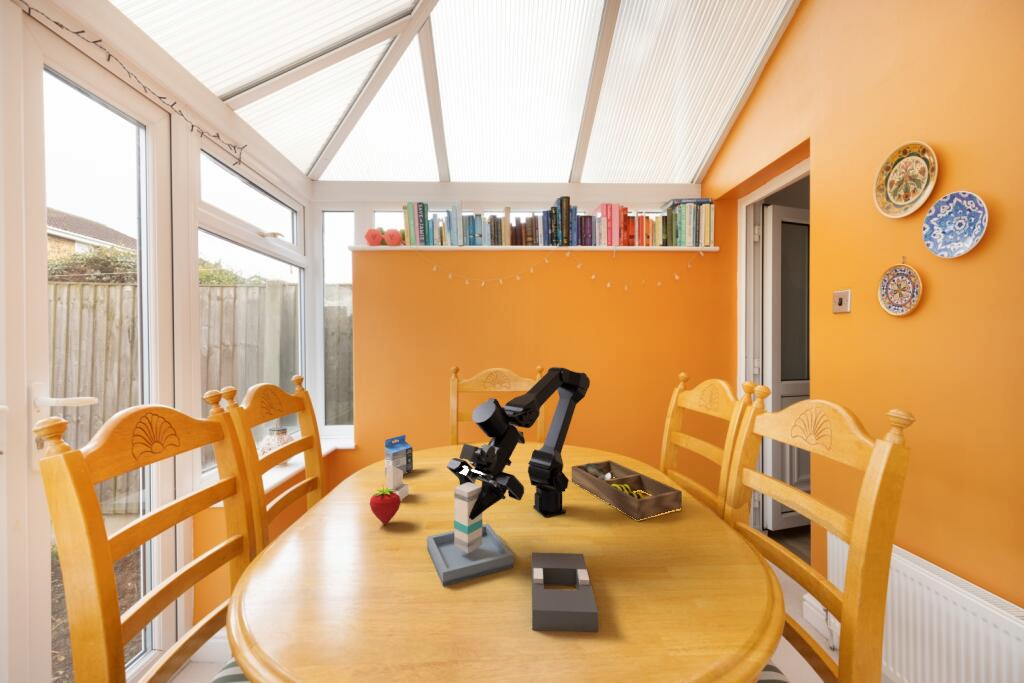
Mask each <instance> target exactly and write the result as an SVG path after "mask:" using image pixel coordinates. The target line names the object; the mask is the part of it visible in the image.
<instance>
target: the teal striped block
mask: <svg viewBox="0 0 1024 683" xmlns="http://www.w3.org/2000/svg"><path fill="white" fill-rule="evenodd" d="M453 490H454V492H453V495H454V496H453V497H454V500H453V501H454V502H453V503H454V504H453V509H454V512H453V513H454V514H453V515H454V516H453V518H454V519H453V531H454V546H455V547H457V548H459V549H461V550H463V551H465V552H467V553H469V552H471V551H472V550H474V549H476V548H478V547H479V546H481V545H482V525H483V512H482V513H481V514H480V515H478V516H477V517H476V518H475V519H473V520H471V519H470V518H469V515H470V513H471V510H472V508H473V506H474V504H475V502H476V500H477V498H478V497H479V495H480V493H481V490H482V485H479V484H475V483H474V484H473V483H470V482H467V483H465V484H462V485H460V484H459V485H457V486H455V487H454V488H453Z"/></svg>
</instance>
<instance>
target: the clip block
mask: <svg viewBox="0 0 1024 683" xmlns="http://www.w3.org/2000/svg"><path fill="white" fill-rule="evenodd" d="M587 568H588V567H587V564H586V560H585V555H584V553H573V552H571V553H570V552H569V553H567V552H565V553H564V552H563V553H562V552H534V551H533V552H531V623H532V625H531V626H532V627H531V630H533V631H556V632H557V631H558V632H559V631H561V632H589V633H598V632H599V611H598V606H597V604H596V599H595V595H594V591H593V587H592V582H591V580H590V576H589V571H588V569H587ZM545 585H547V586H548V585H550V586H551V585H552V586H553V585H554V586H555V585H556V586H557V585H558V586H575V587H576V590H575V589H549V588H548V589H547V588H546V589H545Z"/></svg>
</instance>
